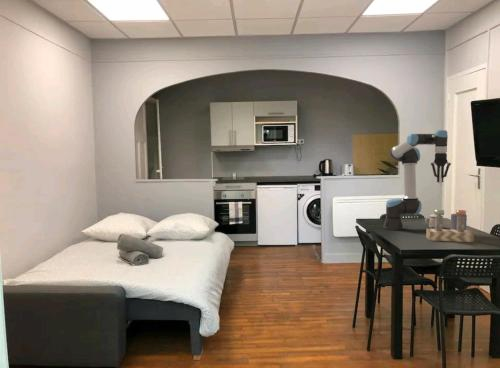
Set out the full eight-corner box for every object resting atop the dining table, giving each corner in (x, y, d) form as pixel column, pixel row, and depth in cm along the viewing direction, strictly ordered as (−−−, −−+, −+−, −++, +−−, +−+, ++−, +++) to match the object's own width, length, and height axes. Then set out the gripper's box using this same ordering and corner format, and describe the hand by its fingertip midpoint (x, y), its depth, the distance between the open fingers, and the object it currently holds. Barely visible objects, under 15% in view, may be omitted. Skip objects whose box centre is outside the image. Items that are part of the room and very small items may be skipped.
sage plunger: (435, 230, 298) (435, 210, 297) (433, 229, 304) (433, 209, 303) (444, 231, 297) (445, 210, 296) (442, 229, 303) (443, 209, 302)
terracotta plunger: (456, 231, 295) (457, 211, 294) (454, 230, 301) (455, 209, 300) (466, 231, 294) (467, 211, 293) (464, 230, 300) (464, 210, 299)
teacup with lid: (439, 226, 352) (440, 212, 351) (442, 228, 343) (443, 213, 342) (424, 225, 354) (424, 211, 353) (426, 227, 345) (427, 213, 344)
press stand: (429, 240, 297) (430, 217, 295) (426, 237, 308) (426, 214, 307) (473, 242, 291) (474, 218, 290) (468, 238, 302) (469, 215, 301)
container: (467, 236, 308) (468, 216, 307) (451, 236, 312) (452, 215, 310) (464, 234, 318) (465, 214, 317) (449, 233, 321) (450, 213, 320)
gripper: (431, 152, 294) (430, 187, 296) (452, 152, 292) (451, 187, 293) (429, 152, 302) (428, 186, 303) (449, 152, 299) (448, 186, 301)
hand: (439, 187), depth 298 cm, fingers closed
